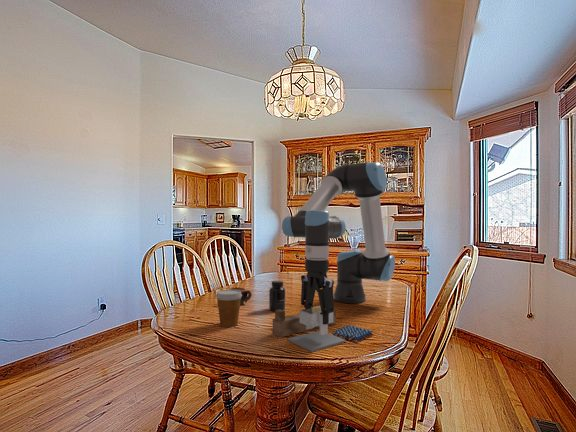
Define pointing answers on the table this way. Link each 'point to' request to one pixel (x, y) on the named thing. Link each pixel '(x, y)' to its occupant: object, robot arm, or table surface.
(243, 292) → the pottery mug
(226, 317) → the disposable coffee cup
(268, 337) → the table surface
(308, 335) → the pad
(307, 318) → the light grey block
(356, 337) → the woven mat
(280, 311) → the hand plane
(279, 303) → the supplement bottle
